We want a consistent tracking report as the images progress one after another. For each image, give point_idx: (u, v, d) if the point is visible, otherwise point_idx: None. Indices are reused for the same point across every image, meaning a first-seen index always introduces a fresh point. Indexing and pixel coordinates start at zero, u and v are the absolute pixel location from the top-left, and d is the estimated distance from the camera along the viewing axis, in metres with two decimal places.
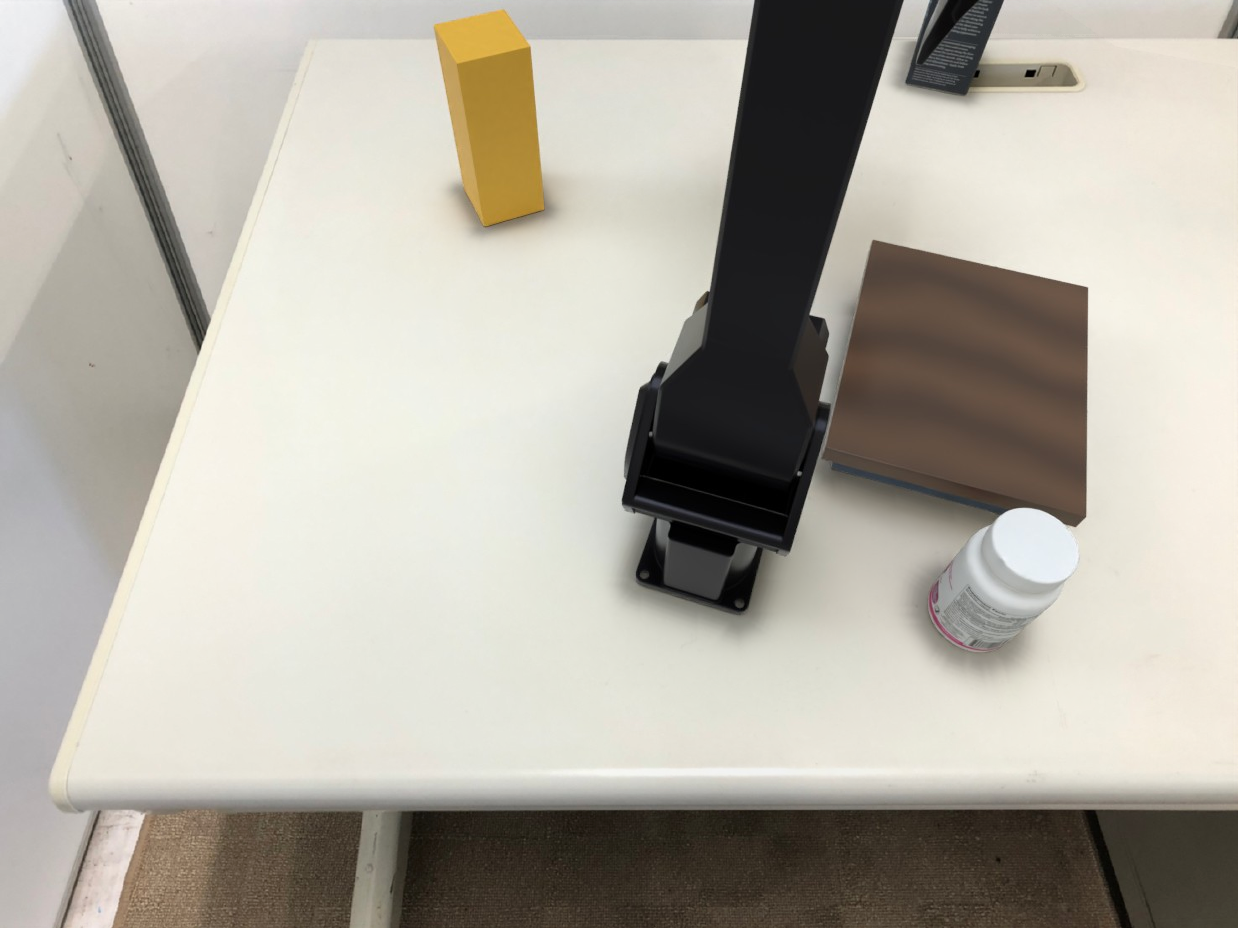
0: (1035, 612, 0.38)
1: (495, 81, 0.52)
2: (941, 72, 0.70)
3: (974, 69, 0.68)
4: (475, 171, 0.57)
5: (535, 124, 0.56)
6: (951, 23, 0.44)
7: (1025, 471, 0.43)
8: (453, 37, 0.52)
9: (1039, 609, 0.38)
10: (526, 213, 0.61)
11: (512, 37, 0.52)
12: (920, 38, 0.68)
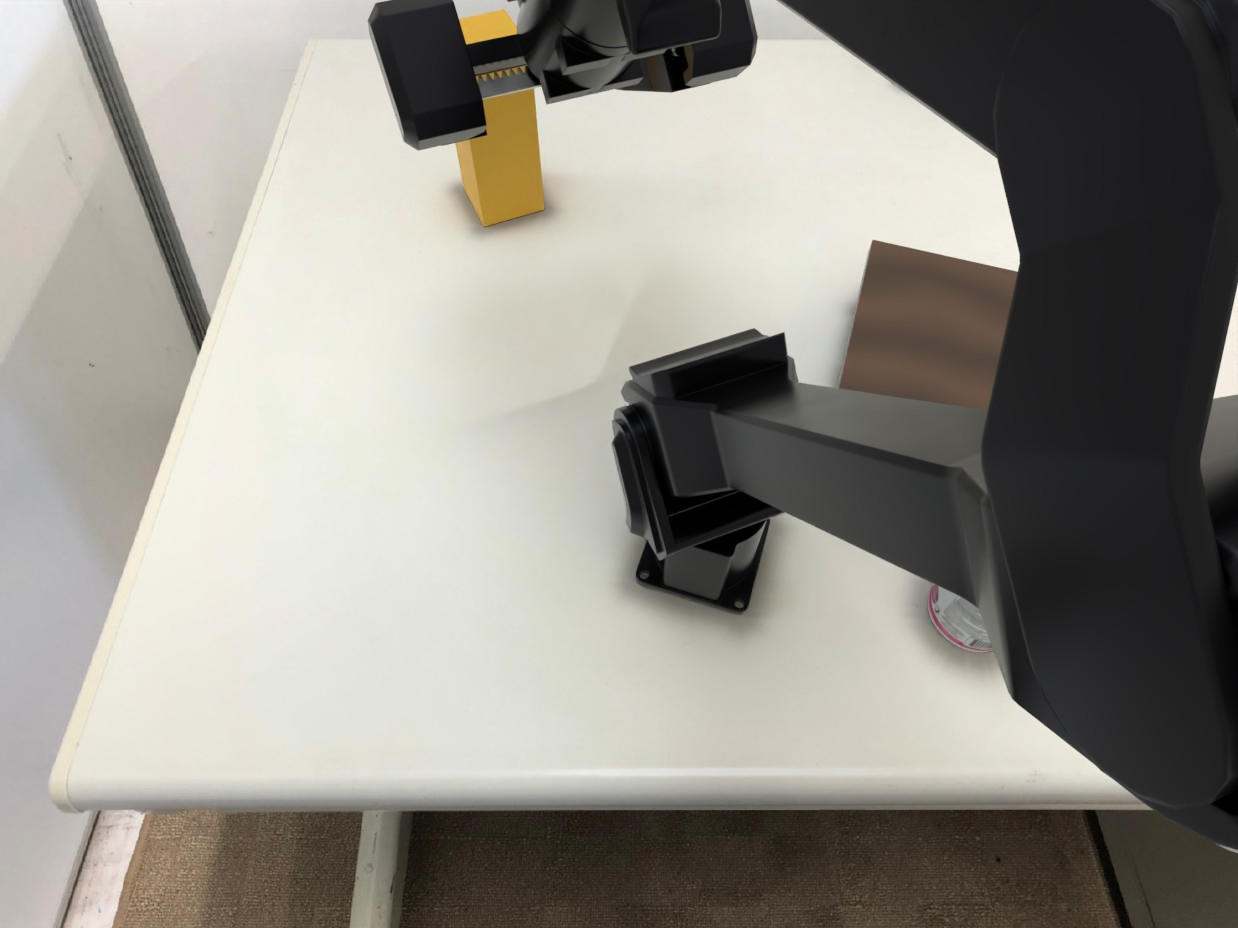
0: None
1: None
2: None
3: None
4: (475, 171, 0.57)
5: (535, 124, 0.56)
6: None
7: None
8: None
9: None
10: (526, 213, 0.61)
11: None
12: None
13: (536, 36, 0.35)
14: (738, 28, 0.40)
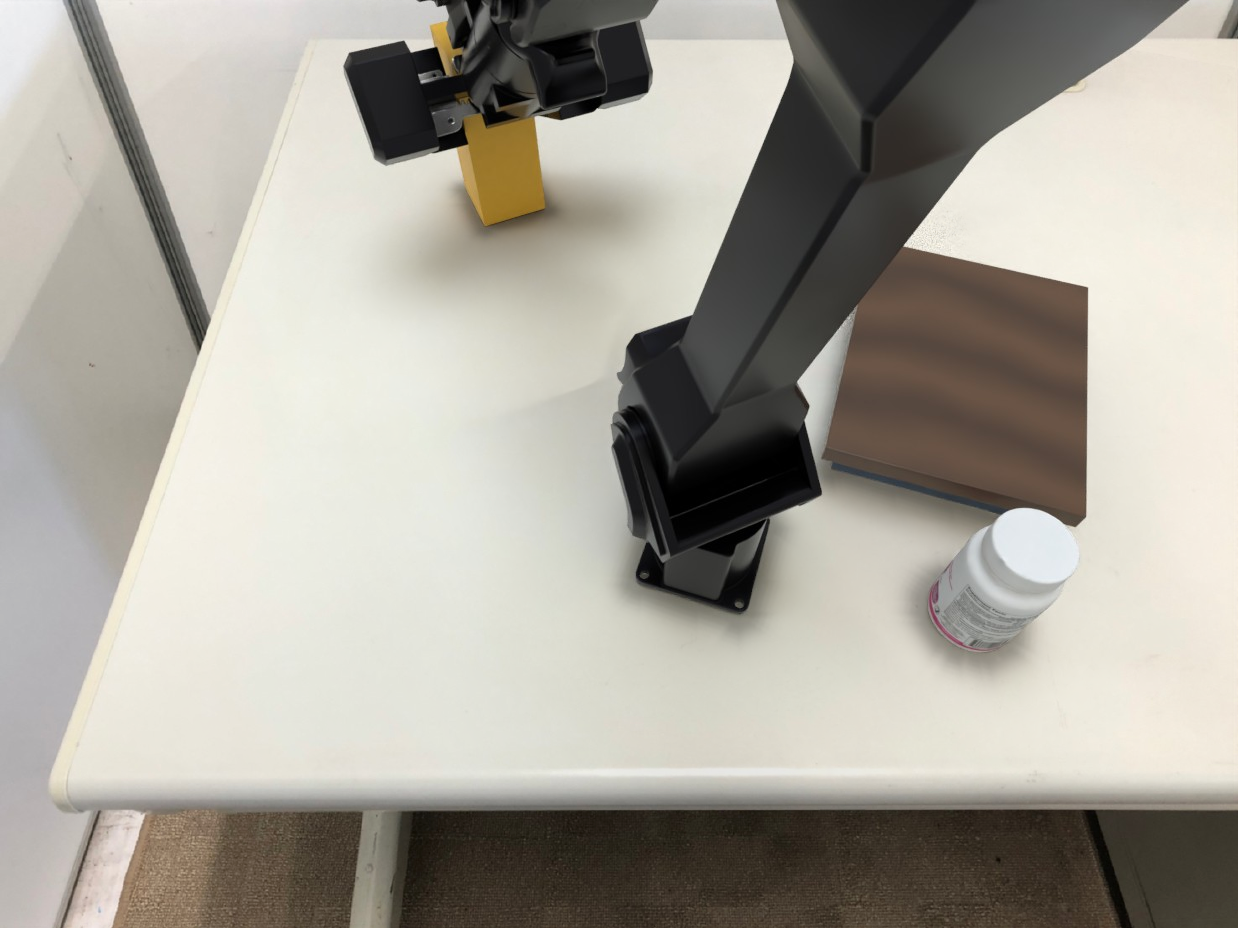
0: (1035, 612, 0.38)
1: None
2: None
3: None
4: (474, 171, 0.57)
5: (533, 123, 0.55)
6: None
7: (1025, 471, 0.43)
8: None
9: (1039, 609, 0.38)
10: (527, 212, 0.61)
11: None
12: None
13: (475, 80, 0.46)
14: (636, 65, 0.50)
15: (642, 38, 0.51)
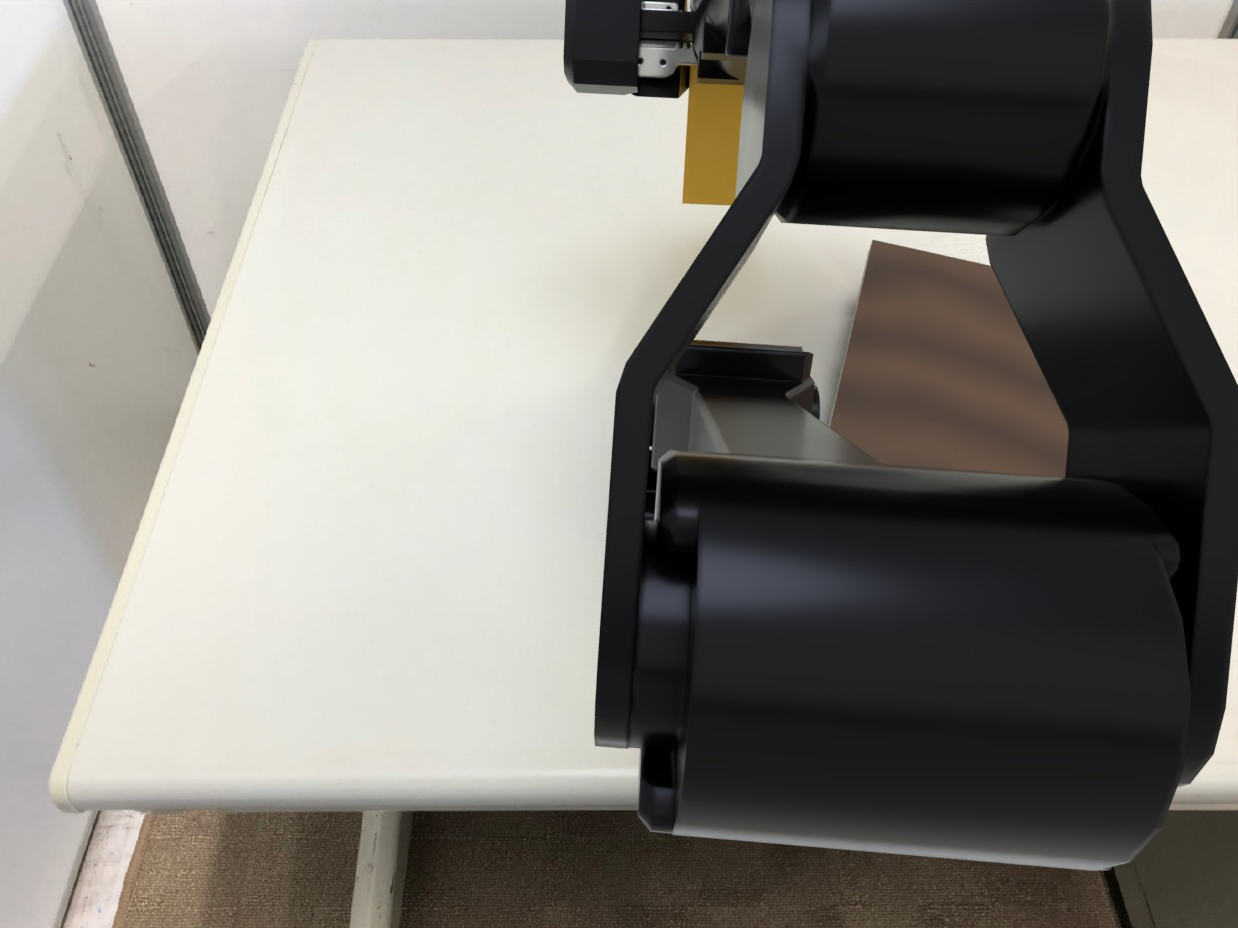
0: None
1: None
2: None
3: None
4: (687, 136, 0.49)
5: None
6: None
7: (1025, 471, 0.43)
8: None
9: None
10: None
11: None
12: None
13: (695, 18, 0.37)
14: None
15: None
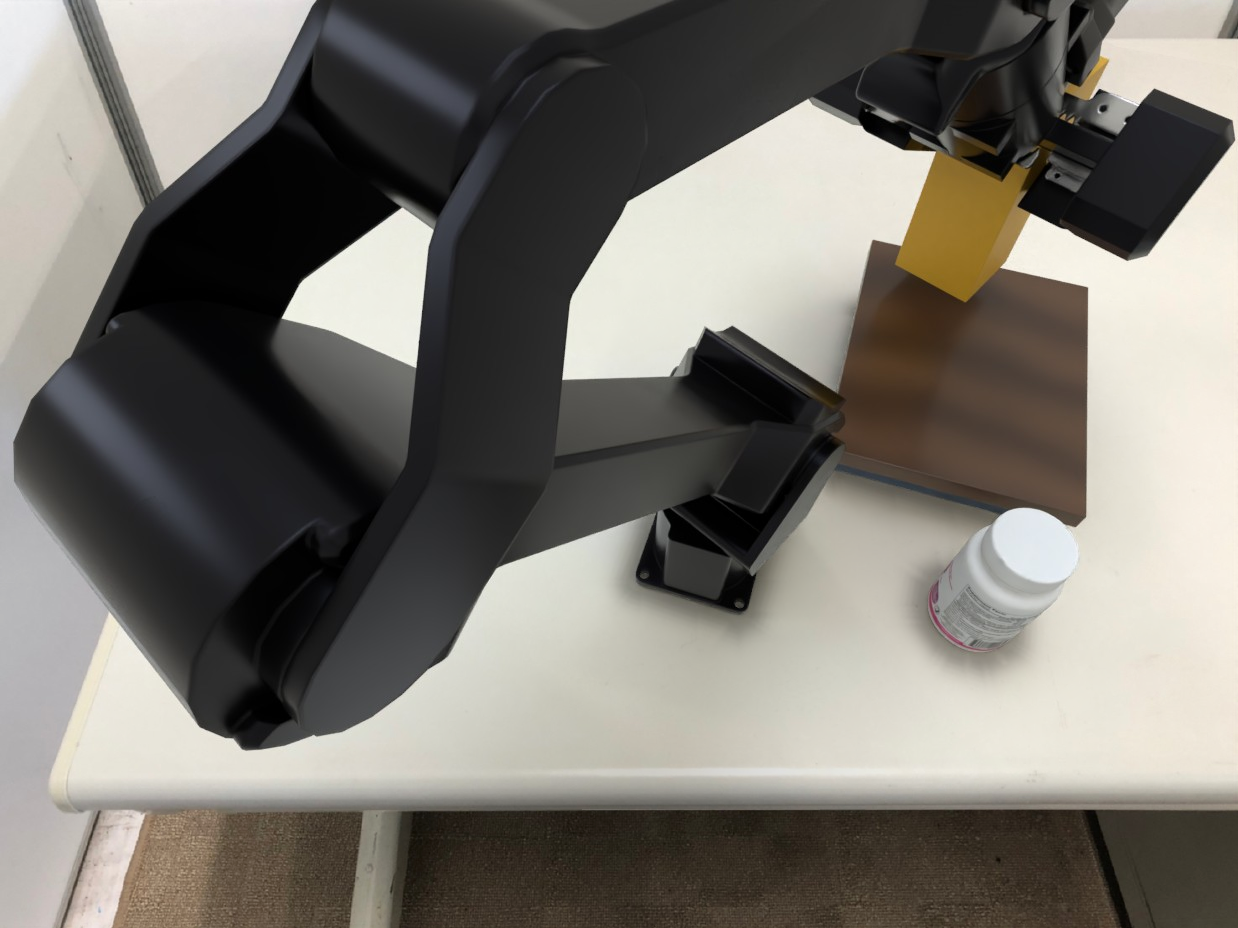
0: (1035, 612, 0.38)
1: None
2: None
3: None
4: (919, 198, 0.46)
5: (1013, 198, 0.42)
6: None
7: (1025, 471, 0.43)
8: None
9: (1039, 609, 0.38)
10: (944, 289, 0.48)
11: None
12: None
13: None
14: (1143, 208, 0.34)
15: (1190, 188, 0.33)
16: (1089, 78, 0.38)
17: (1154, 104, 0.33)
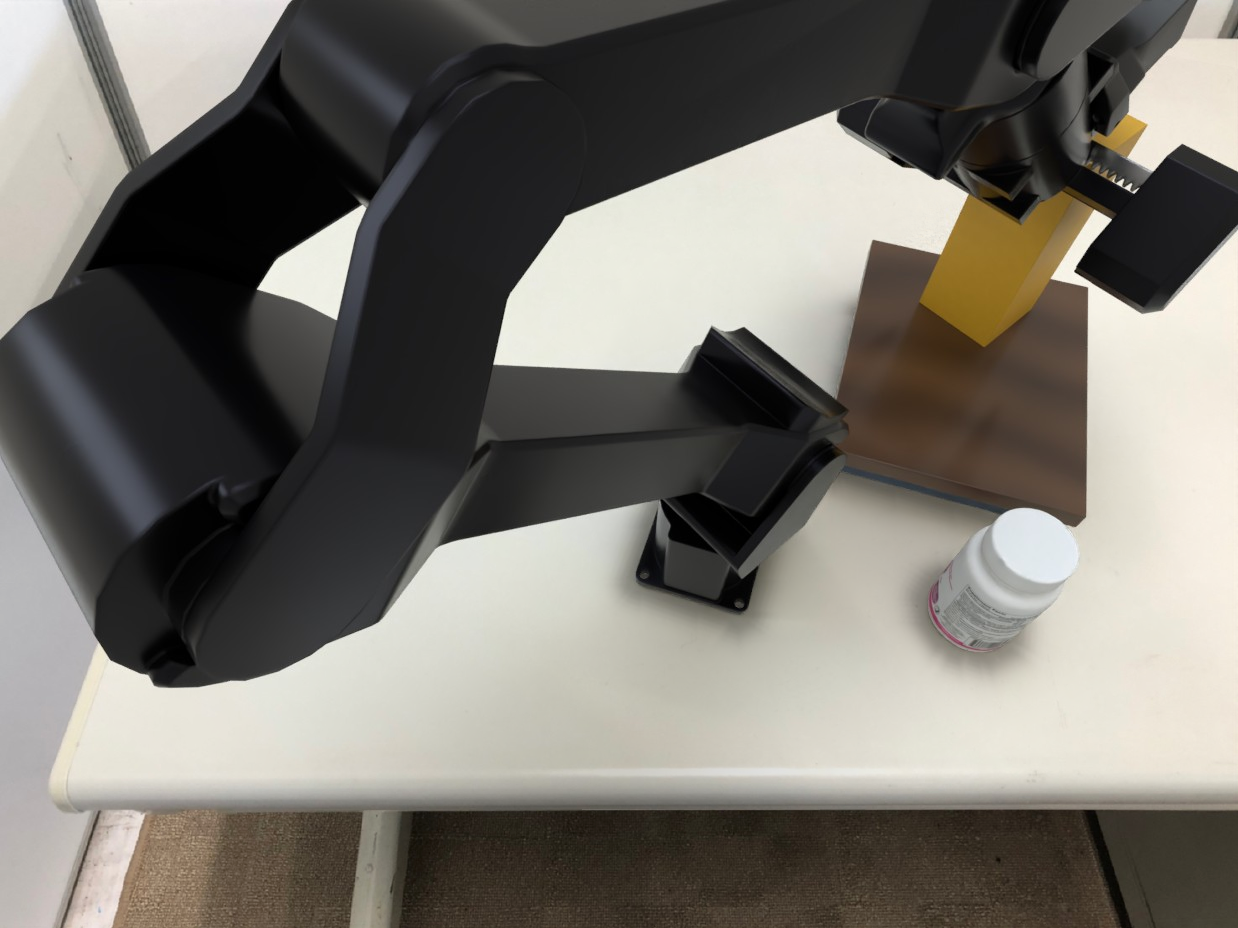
0: (1035, 612, 0.38)
1: None
2: None
3: None
4: (947, 241, 0.46)
5: (1037, 253, 0.42)
6: None
7: (1025, 471, 0.43)
8: None
9: (1039, 609, 0.38)
10: (964, 332, 0.49)
11: None
12: None
13: None
14: (1158, 263, 0.34)
15: (1207, 246, 0.33)
16: (1123, 143, 0.38)
17: (1179, 160, 0.33)
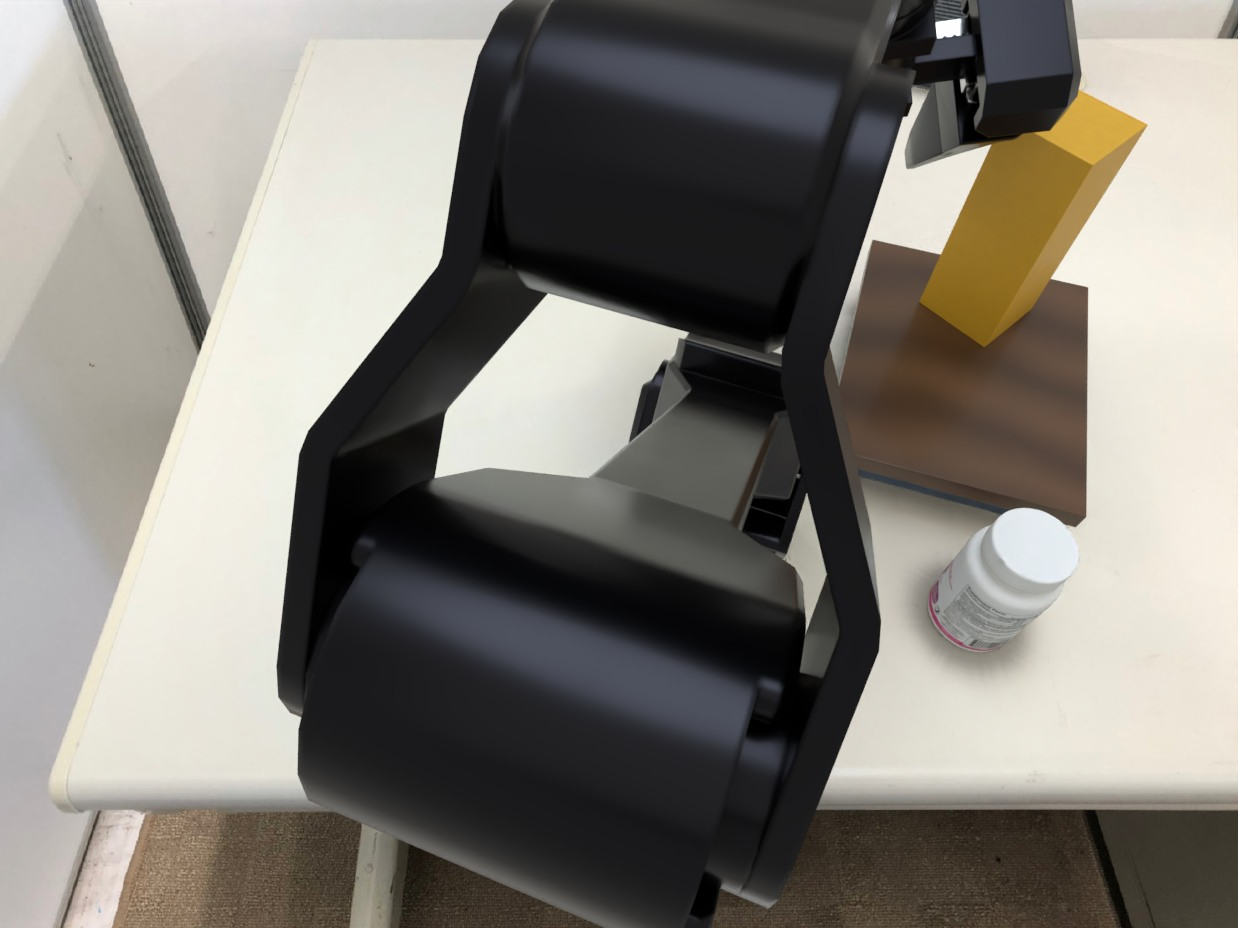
0: (1035, 612, 0.38)
1: (1028, 168, 0.40)
2: None
3: None
4: (947, 241, 0.46)
5: (1037, 253, 0.42)
6: (944, 157, 0.39)
7: (1025, 471, 0.43)
8: None
9: (1039, 609, 0.38)
10: (964, 332, 0.49)
11: (1095, 146, 0.38)
12: None
13: None
14: (1053, 59, 0.32)
15: (1072, 27, 0.32)
16: (1123, 143, 0.38)
17: None
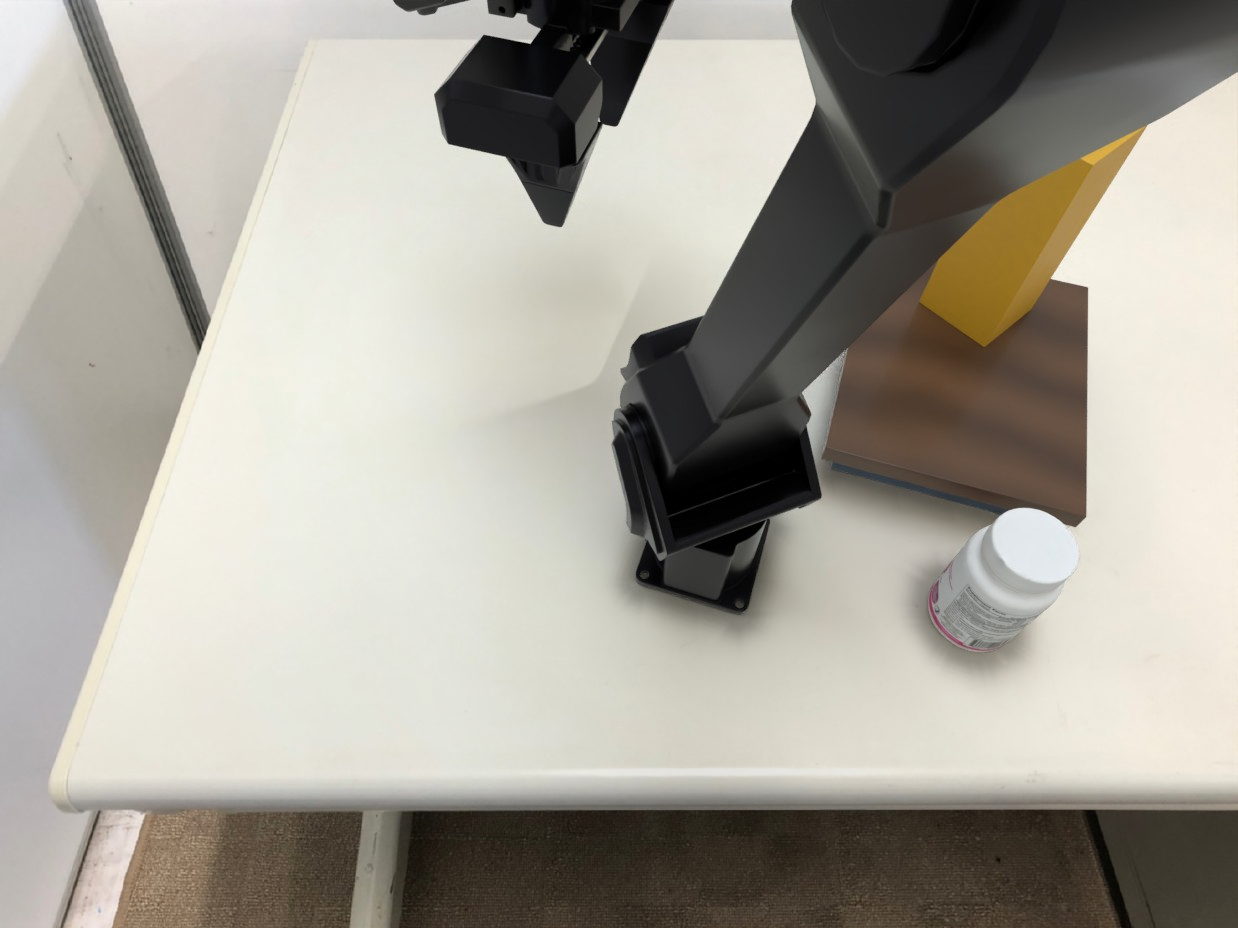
0: (1035, 612, 0.38)
1: None
2: None
3: None
4: None
5: (1037, 253, 0.42)
6: (643, 67, 0.44)
7: (1025, 471, 0.43)
8: None
9: (1039, 609, 0.38)
10: (964, 332, 0.49)
11: None
12: None
13: None
14: None
15: None
16: (1123, 143, 0.38)
17: None
